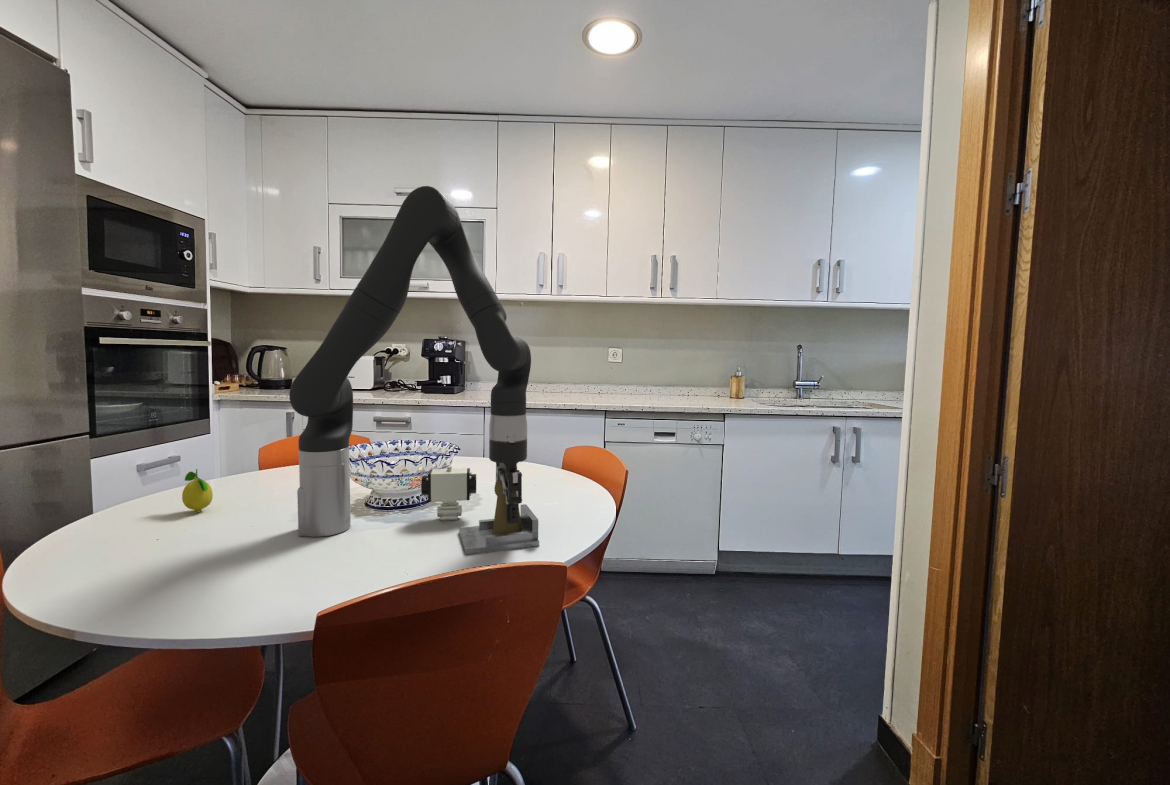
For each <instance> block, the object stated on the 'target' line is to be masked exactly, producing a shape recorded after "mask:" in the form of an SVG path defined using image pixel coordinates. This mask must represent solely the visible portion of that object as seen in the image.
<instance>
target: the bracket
mask: <svg viewBox="0 0 1170 785" xmlns="http://www.w3.org/2000/svg"><path fill="white" fill-rule="evenodd" d="M520 520H521V528H522V532H514V533H505V534H496V535H492V532H493V525H494V518H487V519H479V520H478V525H475V526H466V527H465V526H464V527H458V534H459V537H460V540H461V543H463V544H462V546H464V547H463V549H465V550H464V553H465V552H466V553H465V555H466V554H468V555H474V554H473V553H477V554H482V553H481V552H485V553H490V552H489V551H493V552H499V551H498V550H502V551H507V550H506V549H510V550H516V549H515V548H518V549H524V548H523V547H527V548H531V547H530V546H535V547H540V540H539V518H538V517H537V516H536V515H535V513H534V512H533V511H532V509H530V507H529V506H528V505H527V504H524V503H523V504H520Z"/></svg>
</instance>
